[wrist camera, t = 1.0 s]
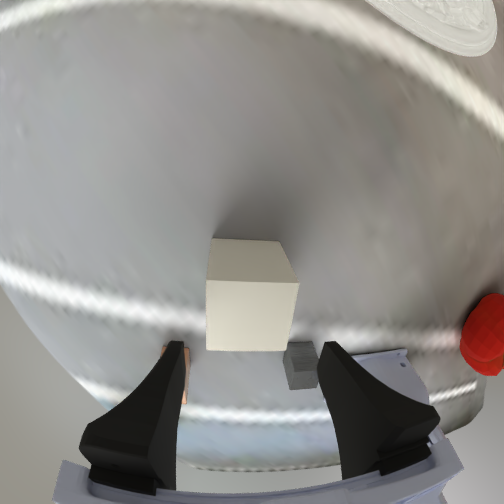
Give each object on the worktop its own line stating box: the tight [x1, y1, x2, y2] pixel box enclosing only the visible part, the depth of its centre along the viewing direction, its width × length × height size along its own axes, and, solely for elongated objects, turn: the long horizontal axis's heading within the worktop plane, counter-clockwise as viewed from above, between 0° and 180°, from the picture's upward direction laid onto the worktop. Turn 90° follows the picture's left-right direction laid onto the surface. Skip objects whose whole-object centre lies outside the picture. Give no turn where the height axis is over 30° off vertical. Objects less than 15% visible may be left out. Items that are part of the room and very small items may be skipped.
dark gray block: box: [283, 342, 319, 390], centre depth 25 cm, size 3×3×4 cm
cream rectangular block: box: [206, 238, 299, 351], centre depth 19 cm, size 5×5×7 cm
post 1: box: [160, 346, 191, 404], centre depth 23 cm, size 3×3×5 cm
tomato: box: [460, 293, 504, 376], centre depth 25 cm, size 11×12×9 cm
